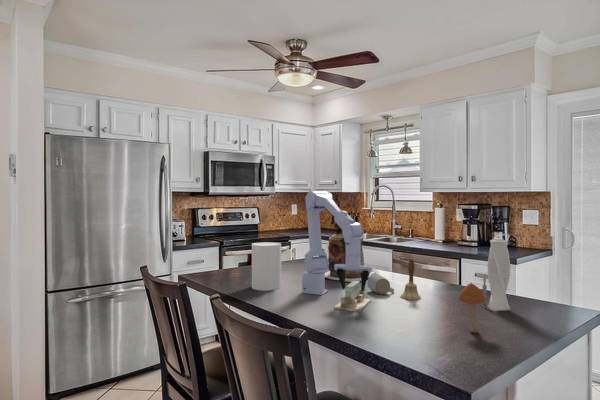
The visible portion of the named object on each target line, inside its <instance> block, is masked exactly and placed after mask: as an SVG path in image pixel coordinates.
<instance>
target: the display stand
mask: <svg viewBox="0 0 600 400" xmlns="http://www.w3.org/2000/svg"><path fill="white" fill-rule="evenodd" d="M371 300H372V298H371V299H370V298H365V290H364V291H361V288H360V294H359V295H358V296H357V297H356V298H350V297H345V296H340V302H338V303H337V304H336V305H334V306H333V309H334V310H341V311H348V310H349V311H348V312H357V311H358V312H360V313H361V312H362V311H363V310H364V309H365V308H366V307H367V306H368V305H369V304H370V303H371V302H372V301H371ZM367 304H368V305H367ZM366 305H367V306H366ZM365 306H366V307H365Z"/></svg>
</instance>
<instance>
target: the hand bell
mask: <svg viewBox="0 0 600 400" xmlns="http://www.w3.org/2000/svg"><path fill="white" fill-rule="evenodd" d="M414 261H415V260H414V259H413V258H409V261H408V265H407V269H408V270H407V271H408V273H409V274H408V277H409V278H408V282H407V283H405V286H404V290H403V293H402V294H400V298H401V299H404V300H408V301H417V300H422V296H421V295H420V294H419V292H418V287H417V284H416V283H414V273H415V268H416V266H415V262H414Z"/></svg>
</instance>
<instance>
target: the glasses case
mask: <svg viewBox="0 0 600 400" xmlns="http://www.w3.org/2000/svg"><path fill="white" fill-rule="evenodd" d="M360 289H361V281H353V282H349V284H347V285H345V289H344V297H350V298H356V297H357V296H358V295H359V294H360Z"/></svg>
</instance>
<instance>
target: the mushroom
mask: <svg viewBox="0 0 600 400" xmlns="http://www.w3.org/2000/svg"><path fill="white" fill-rule="evenodd" d="M457 299H458V300H459V301H460V302H461V303H465V304H468V305H467V306H468V329H469V332H470V333H478V332H479V322H478V316H477V308H476V306H477V305H479V304H482V303H484V302H485V301H486V299H485V296H484V294H483V290H481V289H480V288H479V287H478V286H477V285H475V284H474V283H472V282H470V283H469V284H467V285H465V286H464V288H463V289H462V290H461V291H460V293H459V295H458V298H457Z"/></svg>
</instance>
